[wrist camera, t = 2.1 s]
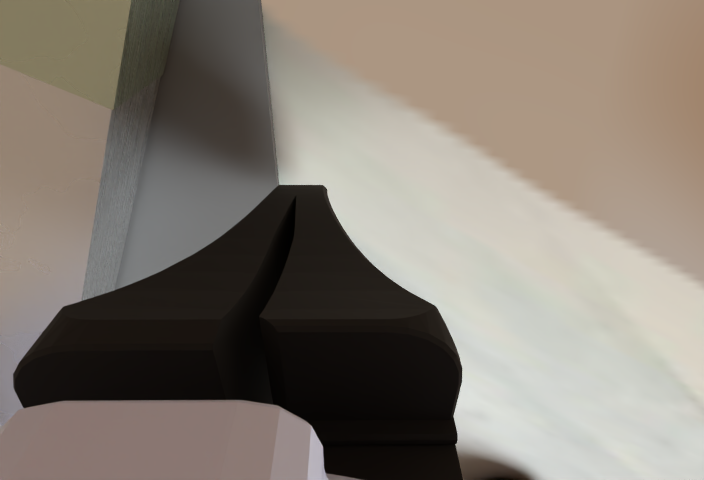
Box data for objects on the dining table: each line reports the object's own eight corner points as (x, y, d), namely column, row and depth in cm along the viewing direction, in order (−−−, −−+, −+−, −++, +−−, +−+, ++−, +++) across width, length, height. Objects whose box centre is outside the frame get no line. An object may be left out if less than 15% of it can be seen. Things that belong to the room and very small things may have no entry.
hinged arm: (89, 412, 20) (53, 479, 18) (-3, 391, 19) (-56, 459, 17) (200, -93, 10) (148, -106, 7) (6, -199, 9) (-135, -259, 6)
